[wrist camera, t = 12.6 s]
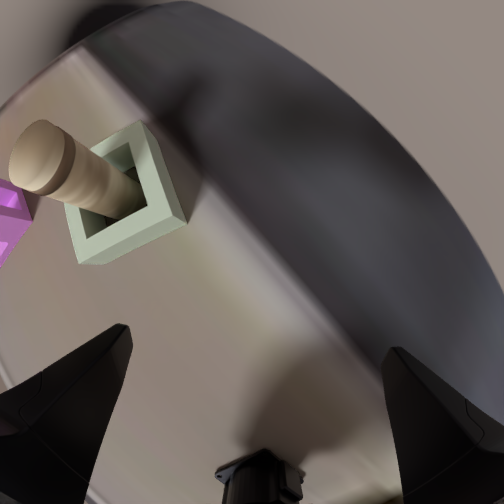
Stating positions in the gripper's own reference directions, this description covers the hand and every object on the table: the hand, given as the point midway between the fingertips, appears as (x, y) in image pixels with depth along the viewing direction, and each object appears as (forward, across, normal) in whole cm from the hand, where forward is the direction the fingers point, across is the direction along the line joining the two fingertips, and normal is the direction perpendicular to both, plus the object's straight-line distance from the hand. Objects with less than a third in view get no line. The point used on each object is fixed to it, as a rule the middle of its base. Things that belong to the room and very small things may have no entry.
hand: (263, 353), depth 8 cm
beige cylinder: (+15, +12, 0) cm, 19 cm away
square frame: (+15, +11, 0) cm, 19 cm away
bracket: (+14, +30, +5) cm, 34 cm away
